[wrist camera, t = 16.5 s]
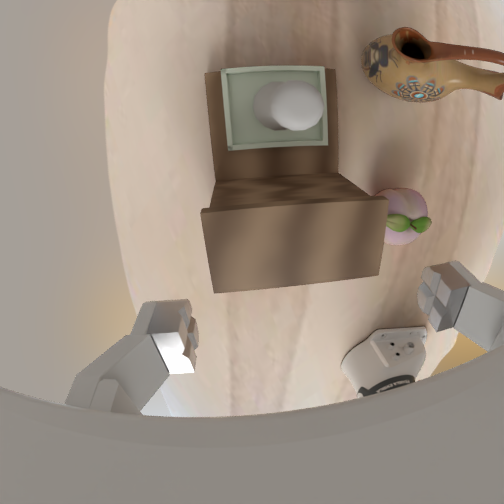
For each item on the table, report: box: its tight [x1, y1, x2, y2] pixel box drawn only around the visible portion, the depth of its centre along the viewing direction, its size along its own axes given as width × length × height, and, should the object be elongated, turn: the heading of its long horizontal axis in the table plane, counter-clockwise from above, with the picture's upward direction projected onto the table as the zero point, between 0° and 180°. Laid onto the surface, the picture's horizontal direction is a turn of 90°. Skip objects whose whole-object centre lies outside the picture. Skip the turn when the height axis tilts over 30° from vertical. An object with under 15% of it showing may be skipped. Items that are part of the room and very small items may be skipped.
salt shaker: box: [253, 80, 324, 131], centre depth 25 cm, size 6×6×13 cm
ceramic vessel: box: [361, 27, 504, 102], centre depth 20 cm, size 16×9×25 cm, turn 89°
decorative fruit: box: [375, 188, 432, 245], centre depth 37 cm, size 9×8×10 cm
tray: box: [221, 66, 328, 151], centre depth 30 cm, size 12×10×2 cm
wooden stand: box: [200, 69, 389, 293], centre depth 29 cm, size 17×22×16 cm
